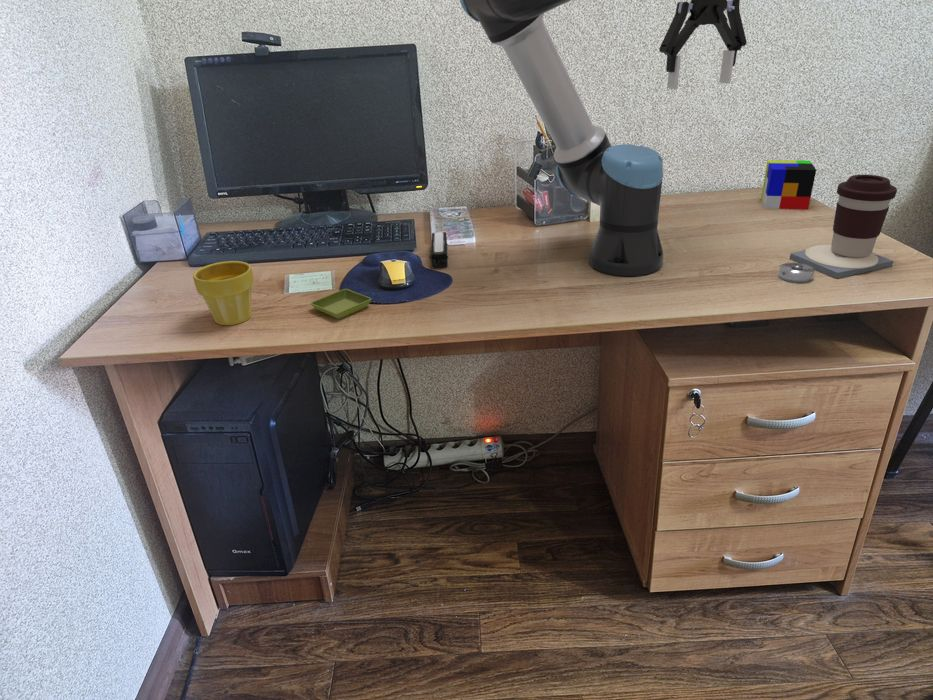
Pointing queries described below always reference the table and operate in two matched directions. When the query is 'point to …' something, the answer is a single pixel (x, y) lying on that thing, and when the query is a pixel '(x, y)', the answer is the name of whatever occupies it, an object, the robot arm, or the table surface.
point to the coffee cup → (860, 214)
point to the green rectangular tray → (341, 303)
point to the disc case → (839, 261)
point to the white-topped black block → (439, 250)
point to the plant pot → (226, 290)
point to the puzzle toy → (788, 184)
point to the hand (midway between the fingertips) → (698, 85)
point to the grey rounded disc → (796, 273)
